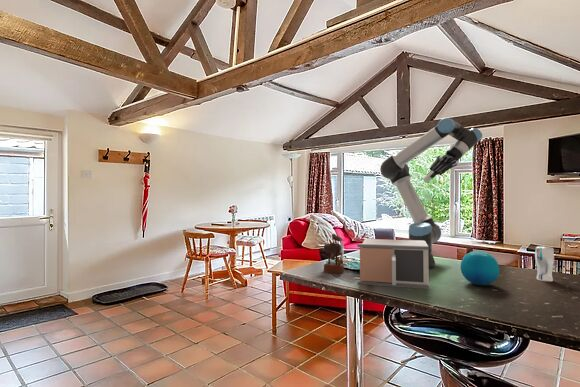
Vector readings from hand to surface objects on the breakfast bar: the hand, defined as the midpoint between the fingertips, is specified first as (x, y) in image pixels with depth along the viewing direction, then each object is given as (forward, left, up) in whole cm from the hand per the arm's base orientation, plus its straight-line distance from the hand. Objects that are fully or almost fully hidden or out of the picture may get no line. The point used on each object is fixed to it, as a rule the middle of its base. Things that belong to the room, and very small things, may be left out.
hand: (425, 180), depth 178 cm
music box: (+50, -6, -47) cm, 69 cm away
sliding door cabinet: (+28, +18, -47) cm, 58 cm away
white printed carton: (-40, +31, -47) cm, 69 cm away
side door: (+40, +29, -45) cm, 67 cm away
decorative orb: (-6, +32, -47) cm, 57 cm away
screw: (+40, -21, -47) cm, 65 cm away
